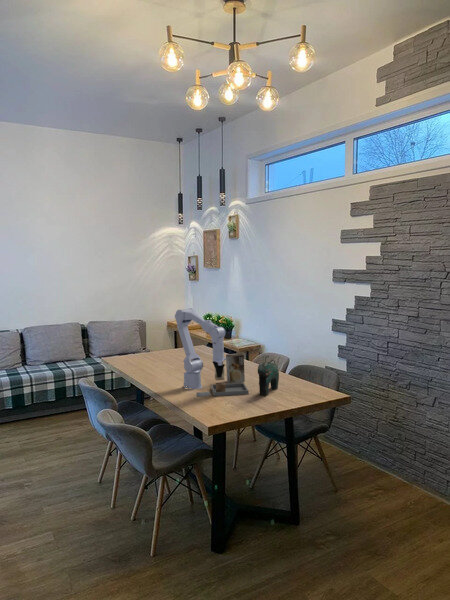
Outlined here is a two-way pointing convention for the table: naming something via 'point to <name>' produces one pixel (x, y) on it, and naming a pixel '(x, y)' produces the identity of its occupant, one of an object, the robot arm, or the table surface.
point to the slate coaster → (203, 394)
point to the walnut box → (220, 387)
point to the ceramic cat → (268, 376)
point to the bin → (231, 389)
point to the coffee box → (235, 368)
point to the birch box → (219, 377)
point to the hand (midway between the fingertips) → (218, 376)
